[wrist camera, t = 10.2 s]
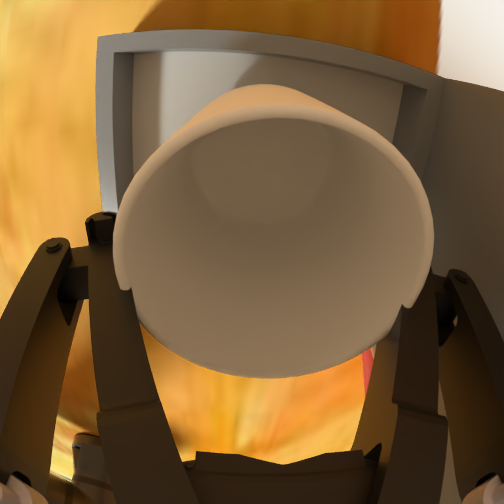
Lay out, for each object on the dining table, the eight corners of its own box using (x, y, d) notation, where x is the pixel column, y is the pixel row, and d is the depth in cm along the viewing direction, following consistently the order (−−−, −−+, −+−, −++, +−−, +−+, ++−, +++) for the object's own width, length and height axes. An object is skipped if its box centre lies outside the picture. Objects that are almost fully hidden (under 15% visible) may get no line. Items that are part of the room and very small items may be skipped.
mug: (298, 285, 21) (322, 428, 12) (174, 266, 20) (133, 408, 11) (357, 105, 14) (481, 168, 6) (198, 70, 14) (115, 77, 5)
